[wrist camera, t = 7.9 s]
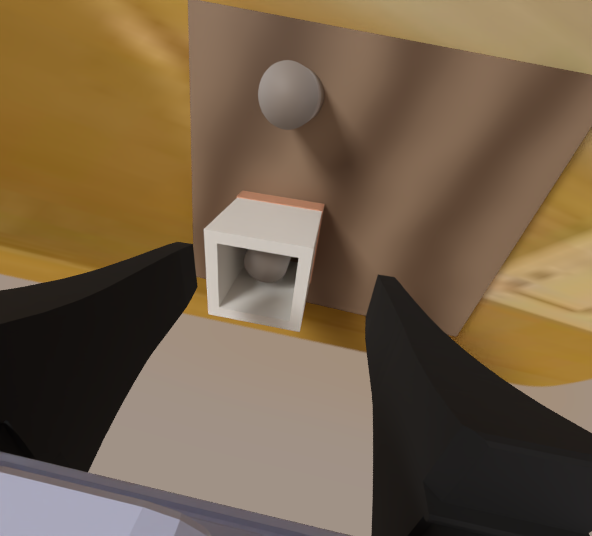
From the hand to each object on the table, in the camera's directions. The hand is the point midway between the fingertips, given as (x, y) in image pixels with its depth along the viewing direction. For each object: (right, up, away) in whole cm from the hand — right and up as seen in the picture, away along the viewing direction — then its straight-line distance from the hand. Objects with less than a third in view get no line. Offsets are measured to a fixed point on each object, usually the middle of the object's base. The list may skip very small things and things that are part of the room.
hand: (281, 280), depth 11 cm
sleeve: (0, +3, +8) cm, 8 cm away
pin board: (+4, +5, +7) cm, 10 cm away
